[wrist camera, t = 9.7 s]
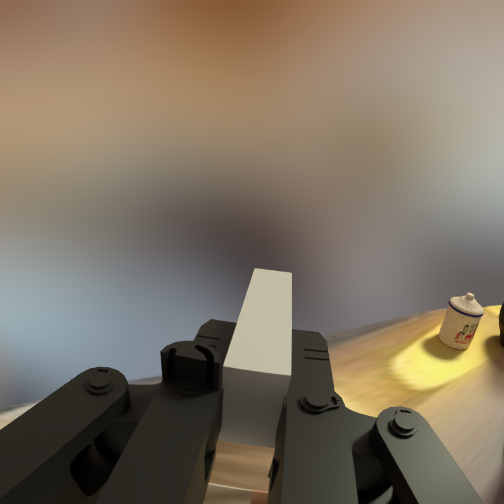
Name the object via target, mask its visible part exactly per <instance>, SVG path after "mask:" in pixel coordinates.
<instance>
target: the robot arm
mask: <svg viewBox="0 0 504 504" xmlns="http://www.w3.org/2000/svg"><path fill="white" fill-rule="evenodd" d="M160 353H161V365H162V378H163V380H162V382H161V383H159V384H154V385H131V384H128V382H127V380H126V378H125V376H124V375H123V374H122V373H121V372H119V371H118V370H115V369H112V368H109V367H96V368H91V369H88V370H86V371H84V372H82V373H80V374H79V375H77V376H76V377H75V378H73V379H72V380H70V381H69V382H68V383H66V384H65V385H64V386H62V387H60V388H59V389H58V390H56V391H55V392H53V393H52V394H51V395H49V396H48V397H46V398H45V399H43V400H42V401H41V402H39V403H38V404H36V405H35V406H33V407H32V408H31V409H29V410H28V411H26V412H25V413H24V414H22V415H21V416H19V417H18V418H16V419H15V420H14V421H12V422H11V423H9V424H8V425H7V426H5V427H4V428H2V429H1V430H0V504H203V502H204V498H205V495H206V491H207V487H208V484H209V480H210V476H211V472H212V469H213V465H214V461H215V457H216V445H217V441H218V437H219V440H221V441H227V442H233V443H239V444H246V445H253V446H261V447H270V448H274V446H275V450H274V456H273V459H272V463H271V467H270V470H269V474H268V477H269V478H270V480H269V489H268V498H267V504H484V503H483V501H482V500H481V498H480V497H479V495H478V494H477V492H476V491H475V489H474V488H473V486H472V485H471V483H470V482H469V481H468V479H467V478H466V476H465V475H464V473H463V472H462V470H461V469H460V467H459V466H458V465H457V463H456V462H455V460H454V459H453V457H452V456H451V454H450V453H449V452H448V450H447V449H446V447H445V446H444V445H443V443H442V442H441V440H440V439H439V438H438V436H437V435H436V433H435V432H434V431H433V429H432V428H431V426H430V425H429V424H428V422H427V421H426V420H425V419H424V418H423V417H422V416H421V415H420V414H419V413H418V412H416V411H414V410H412V409H410V408H405V407H401V406H400V407H390V408H387V409H385V410H383V411H382V412H381V413H380V414H379V415H378V417H377V418H375V417H371V416H367V415H364V414H360V413H357V412H354V411H352V410H350V409H348V408H347V407H345V404H344V402H343V400H342V398H341V397H340V396H339V395H338V394H337V393H336V392H335V391H334V384H333V378H332V371H331V365H330V361H329V353H328V347H327V341H326V340H325V339H324V338H323V336H322V335H321V334H320V333H319V332H313V331H303V330H294V329H292V273H287V272H279V271H272V270H264V269H255V270H254V273H253V276H252V279H251V282H250V285H249V288H248V291H247V294H246V298H245V301H244V304H243V307H242V310H241V313H240V316H239V319H238V322H237V323H233V322H226V321H219V320H213V319H211V320H209V321H208V322H207V323H205V324H203V325H202V326H201V327H200V329H199V331H198V334H197V336H196V337H195V339H194V341H181V342H175V343H172V344H170V345H167V346H166V347H165V348H164V349H163V350H162V351H161V352H160Z"/></svg>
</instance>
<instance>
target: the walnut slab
mask: <svg viewBox="0 0 504 504" xmlns="http://www.w3.org/2000/svg"><path fill="white" fill-rule="evenodd" d="M274 450H275V446H274V448H270V447H261V446H253V445H246V444H239V443H233V442H227V441H221V440H219V437H218V441H217V445H216V457H215V461H214V465H213V469H212V472H211V476H210V480H209V484H208V487H207V491H206V495H205V498H204V502H203V504H267V498H268V489H269V480H270V478H269V477H268V474H269V470H270V467H271V463H272V459H273V456H274Z"/></svg>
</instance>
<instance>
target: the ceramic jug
mask: <svg viewBox="0 0 504 504" xmlns="http://www.w3.org/2000/svg"><path fill="white" fill-rule="evenodd" d="M499 328H500V336H499V341H500V344H501V345H502V346H504V302H503V305H502V307H501V309H500V314H499Z"/></svg>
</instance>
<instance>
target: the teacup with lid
mask: <svg viewBox="0 0 504 504" xmlns="http://www.w3.org/2000/svg"><path fill="white" fill-rule="evenodd" d="M481 316H483V308H482V307H481V306H480V305H479V304H478V303H477V302H476V301H475V300H474V295H473V294H471V293H467V295H466V296H462V297H453V298H452V299H451V300H450V301H449V306H448V309H447V312H446V315H445V318H444V321H443V324H442V326H441V329H440V332H439V338H440V340H441V341H442V342H443V343H444V344H446V345H447V346H449V347H452V348H455V349H460V350H462V349H467V348H468V347H469V346H470V344H471V341H472V339H473V337H474V334H475V332H476V329H477V327H478V324H479V321H480V319H481Z"/></svg>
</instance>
